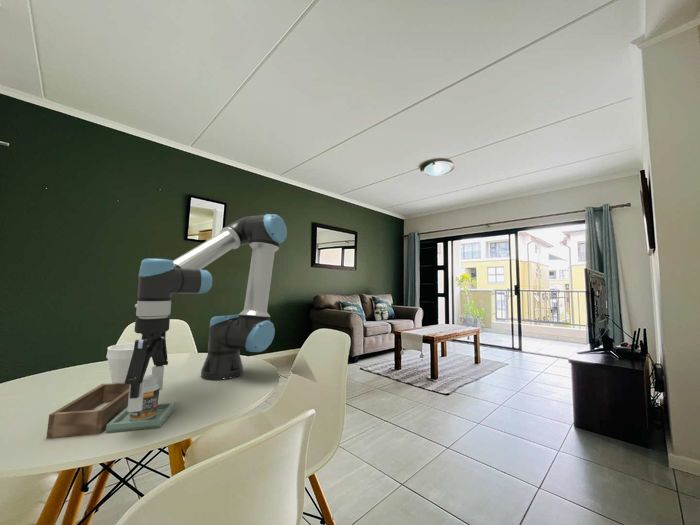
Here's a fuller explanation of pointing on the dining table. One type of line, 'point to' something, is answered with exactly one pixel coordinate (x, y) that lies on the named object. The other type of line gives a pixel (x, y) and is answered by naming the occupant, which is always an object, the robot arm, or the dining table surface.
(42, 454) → the dining table surface
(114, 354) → the white flower pot
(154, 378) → the pill bottle
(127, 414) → the tray
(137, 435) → the dining table surface
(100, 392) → the caddy
